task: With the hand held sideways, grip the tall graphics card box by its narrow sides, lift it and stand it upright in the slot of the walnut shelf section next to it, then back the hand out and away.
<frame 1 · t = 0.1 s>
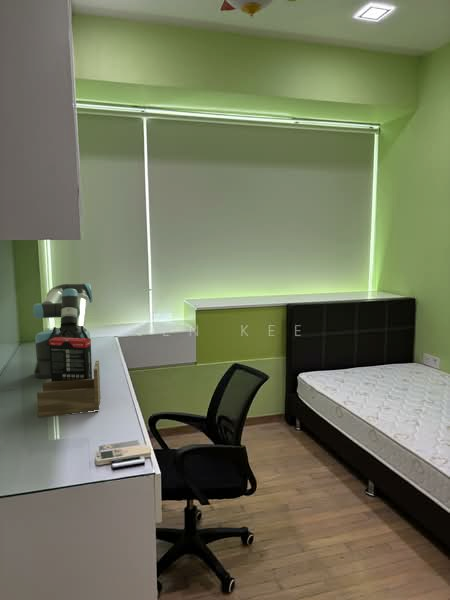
hand: (67, 359, 200), 15 cm above the table, tool tilted 35°, fingers open, 13 cm apart
graphics card box: (73, 397, 194), on the table
walnut shelf slot: (69, 408, 181), on the table
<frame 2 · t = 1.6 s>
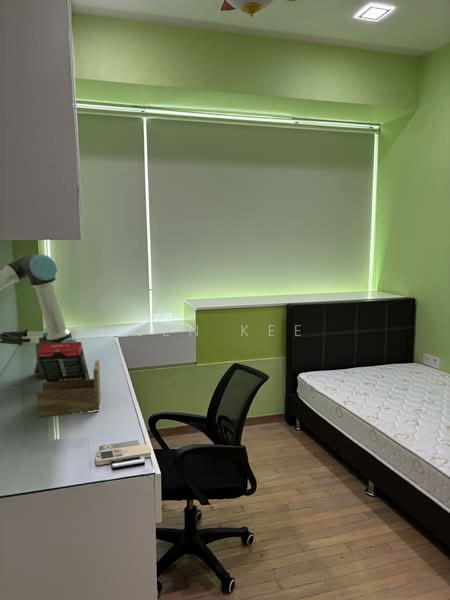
hand: (41, 337, 188), 28 cm above the table, tool horizontal, fingers open, 13 cm apart
graphics card box: (72, 393, 195), point 1 cm above the table, touching walnut shelf slot
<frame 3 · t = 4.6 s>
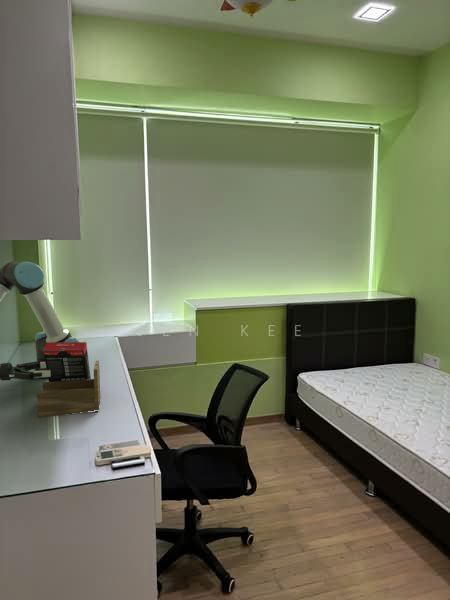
hand: (53, 368, 189), 14 cm above the table, tool horizontal, fingers open, 13 cm apart
graphics card box: (72, 394, 195), point 1 cm above the table
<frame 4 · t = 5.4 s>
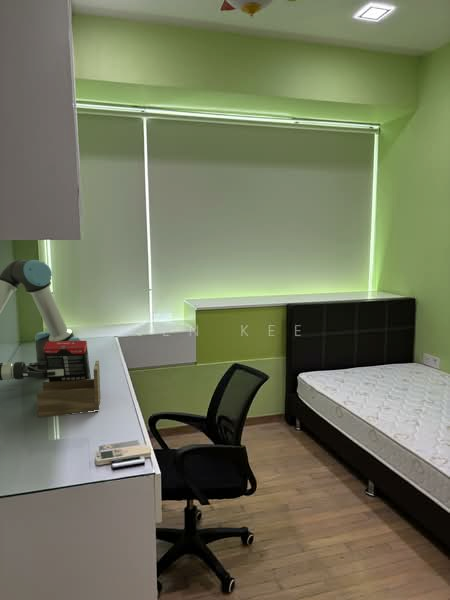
hand: (66, 367, 191), 14 cm above the table, tool horizontal, fingers open, 13 cm apart
graphics card box: (72, 394, 195), point 1 cm above the table, touching gripper
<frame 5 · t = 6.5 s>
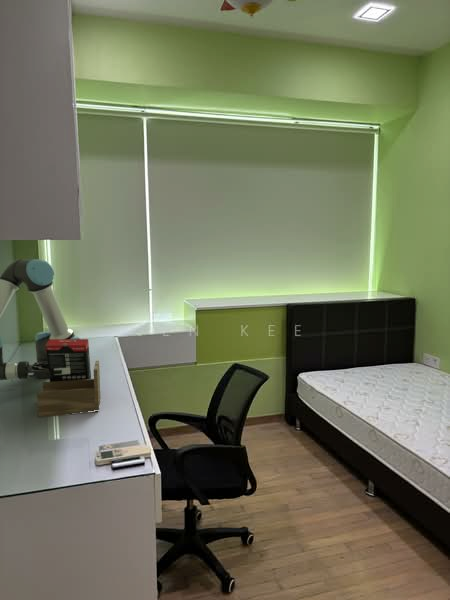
hand: (71, 367, 192), 14 cm above the table, tool horizontal, fingers open, 10 cm apart
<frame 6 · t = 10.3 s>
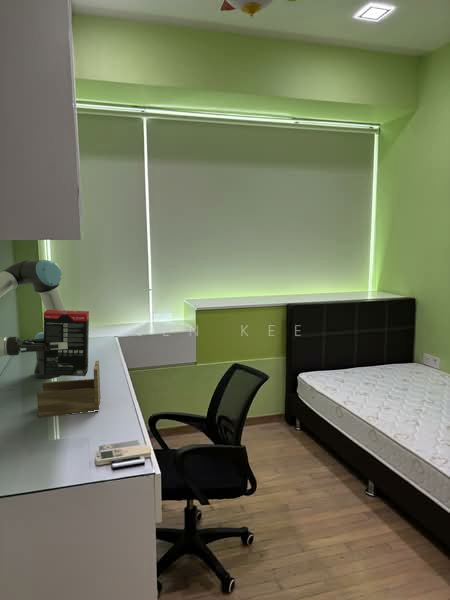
hand: (68, 343, 177), 28 cm above the table, tool horizontal, fingers closed on graphics card box, 6 cm apart
graphics card box: (66, 374, 180), point 14 cm above the table, touching gripper
when the fingers open (17 cm above the table, at t = 13.5 s): graphics card box drops 2 cm, resting on walnut shelf slot.
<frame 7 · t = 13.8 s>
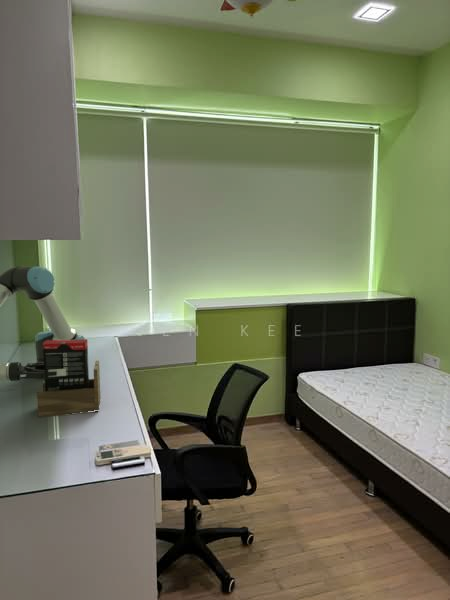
hand: (67, 368, 178), 17 cm above the table, tool horizontal, fingers open, 10 cm apart
graphics card box: (68, 403, 181), point 2 cm above the table, touching walnut shelf slot
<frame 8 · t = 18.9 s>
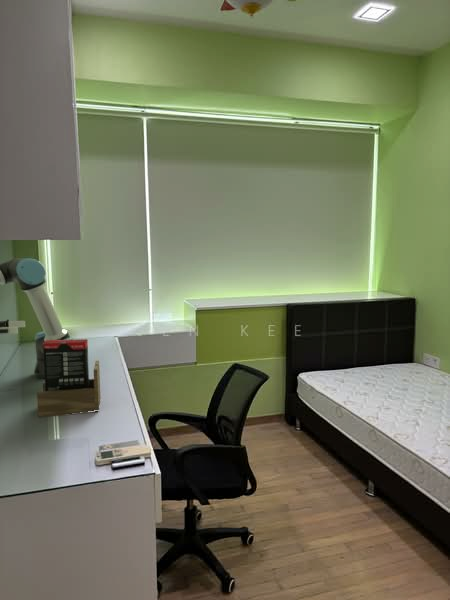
hand: (21, 326, 181), 34 cm above the table, tool horizontal, fingers open, 13 cm apart
nothing on the table moved.
at the end: graphics card box 0.9 cm off-centre on the walnut shelf slot, point 1.8 cm above the walnut shelf slot's base; graphics card box tilted 0°; the gripper is holding nothing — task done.
